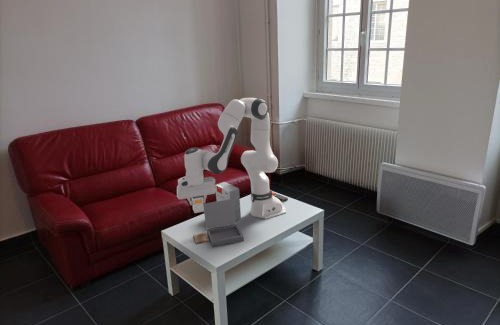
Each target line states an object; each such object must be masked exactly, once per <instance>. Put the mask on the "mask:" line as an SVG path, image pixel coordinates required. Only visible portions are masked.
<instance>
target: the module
mask: <svg viewBox="0 0 500 325" xmlns="http://www.w3.org/2000/svg"><path fill="white" fill-rule="evenodd" d="M203 198H204V196H198V197H192V198H191V201H193V205H192V210H193V213H194V214H197V213H204V206H203V204H204V203H203Z"/></svg>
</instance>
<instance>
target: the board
mask: <svg viewBox="0 0 500 325" xmlns="http://www.w3.org/2000/svg"><path fill="white" fill-rule="evenodd" d="M193 239H194V241H195V244H196V245H198V244H199V245H200V244H205V243H209V242H210V240H209V237H208V235H207V231H206V232H200V233H196V234H193Z"/></svg>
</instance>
